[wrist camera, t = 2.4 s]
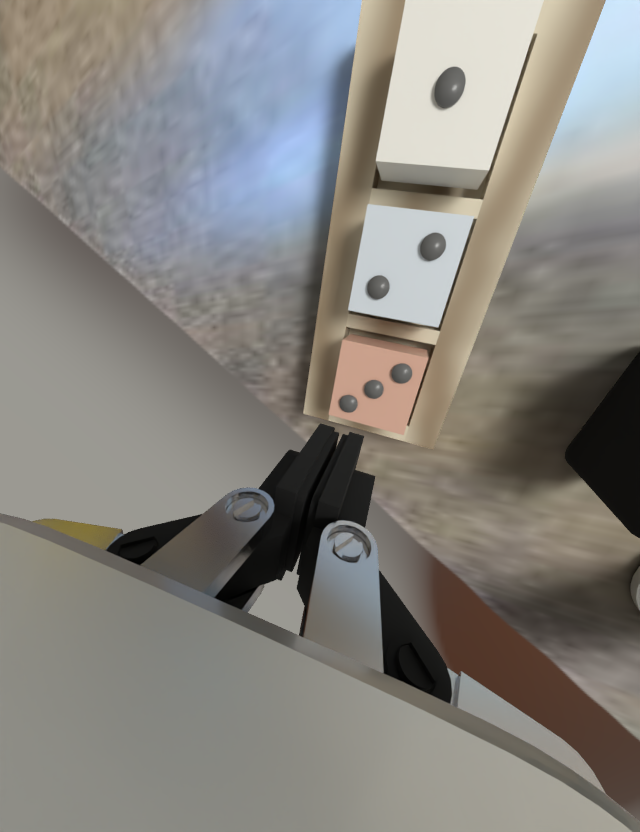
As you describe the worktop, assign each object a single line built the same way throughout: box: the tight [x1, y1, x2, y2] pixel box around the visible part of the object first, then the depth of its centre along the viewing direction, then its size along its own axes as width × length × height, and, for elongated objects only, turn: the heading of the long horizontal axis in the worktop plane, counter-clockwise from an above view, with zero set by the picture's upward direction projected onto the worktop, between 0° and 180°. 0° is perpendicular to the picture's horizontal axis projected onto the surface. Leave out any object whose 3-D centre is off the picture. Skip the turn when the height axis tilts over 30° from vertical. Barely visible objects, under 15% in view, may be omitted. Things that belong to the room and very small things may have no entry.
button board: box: [303, 0, 606, 449], centre depth 22 cm, size 12×26×3 cm, turn 171°
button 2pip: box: [348, 204, 474, 327], centre depth 19 cm, size 6×6×3 cm
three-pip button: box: [329, 334, 428, 435], centre depth 23 cm, size 6×6×3 cm
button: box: [376, 0, 544, 190], centre depth 16 cm, size 6×6×3 cm
